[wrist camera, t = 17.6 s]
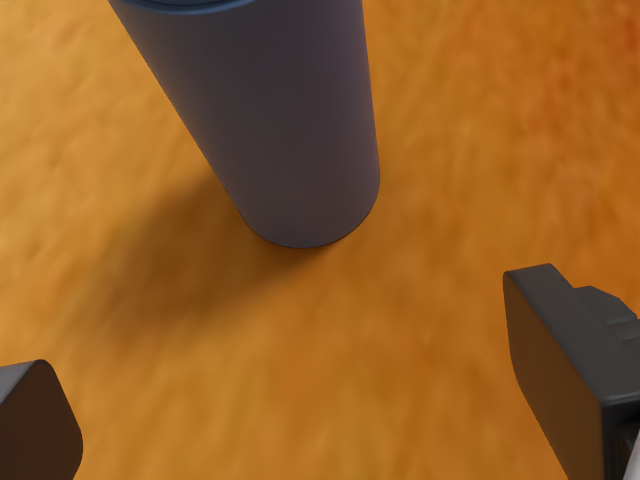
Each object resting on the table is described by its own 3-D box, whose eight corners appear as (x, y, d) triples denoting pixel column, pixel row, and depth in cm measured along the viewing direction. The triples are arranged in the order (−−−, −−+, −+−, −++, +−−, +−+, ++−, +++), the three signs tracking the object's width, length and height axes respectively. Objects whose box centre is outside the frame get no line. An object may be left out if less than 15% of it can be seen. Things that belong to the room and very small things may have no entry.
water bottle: (218, 238, 25) (-191, -298, 8) (253, 112, 27) (-10, -516, 10) (366, 258, 24) (249, -329, 7) (390, 124, 26) (347, -571, 9)
